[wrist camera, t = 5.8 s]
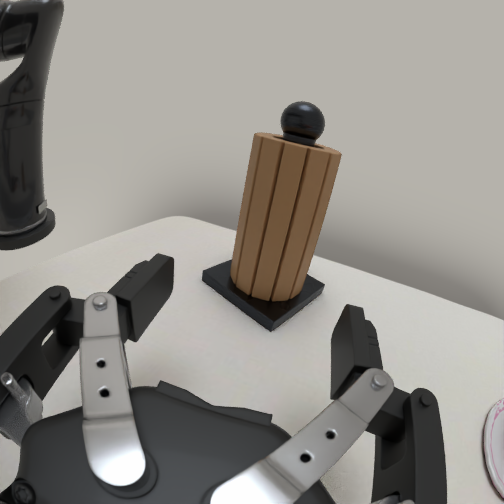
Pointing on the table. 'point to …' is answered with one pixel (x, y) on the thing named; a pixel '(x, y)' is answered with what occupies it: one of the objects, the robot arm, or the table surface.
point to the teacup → (495, 445)
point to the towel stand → (276, 312)
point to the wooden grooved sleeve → (281, 215)
